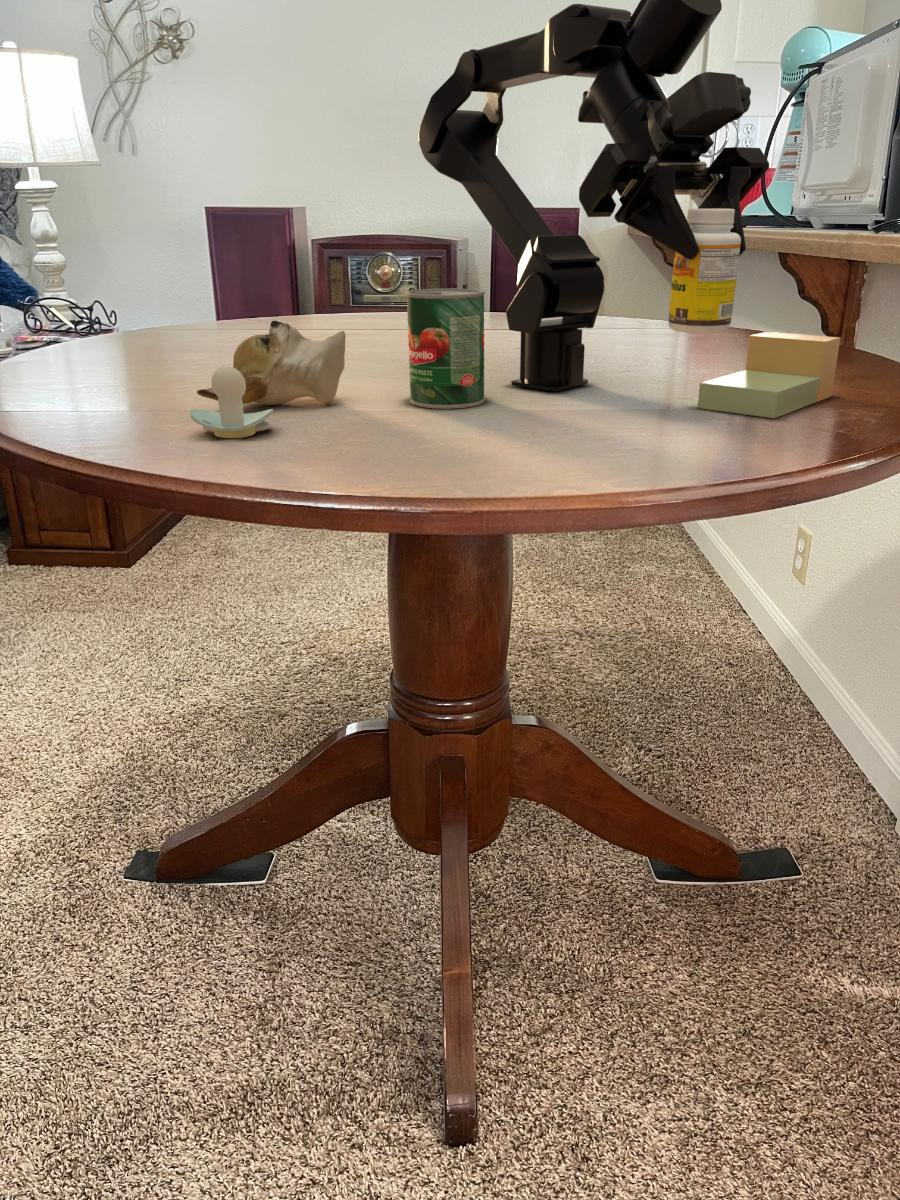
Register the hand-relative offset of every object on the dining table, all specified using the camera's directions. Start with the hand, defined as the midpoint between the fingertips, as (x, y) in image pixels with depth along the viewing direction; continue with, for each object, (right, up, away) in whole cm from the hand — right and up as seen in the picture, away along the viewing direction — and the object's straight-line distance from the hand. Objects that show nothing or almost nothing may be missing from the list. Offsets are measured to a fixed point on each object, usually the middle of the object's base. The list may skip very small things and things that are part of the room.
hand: (718, 254), depth 78 cm
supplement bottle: (-1, -6, +4) cm, 7 cm away
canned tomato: (-24, -9, +16) cm, 30 cm away
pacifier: (-43, -15, +4) cm, 46 cm away
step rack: (+10, -10, +14) cm, 19 cm away
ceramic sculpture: (-41, -10, +16) cm, 45 cm away
